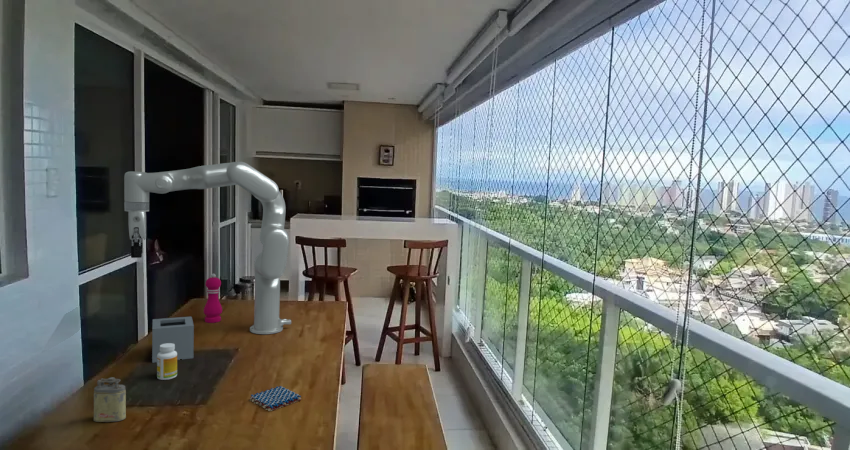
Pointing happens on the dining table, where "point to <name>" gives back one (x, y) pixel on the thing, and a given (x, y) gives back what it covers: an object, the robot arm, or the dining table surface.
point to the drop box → (173, 336)
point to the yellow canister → (109, 401)
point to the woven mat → (275, 398)
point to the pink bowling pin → (213, 300)
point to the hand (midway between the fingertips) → (136, 255)
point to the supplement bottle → (167, 362)
